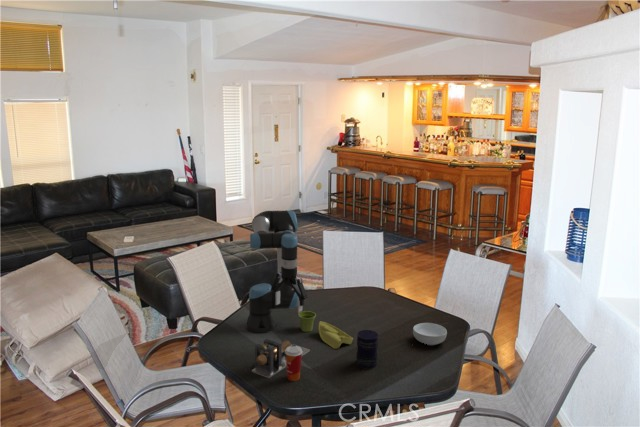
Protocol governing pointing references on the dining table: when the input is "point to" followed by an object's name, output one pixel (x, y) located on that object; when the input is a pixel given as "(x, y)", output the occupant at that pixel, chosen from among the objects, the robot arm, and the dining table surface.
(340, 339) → the plastic component
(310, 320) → the plant pot
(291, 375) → the paper cup
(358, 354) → the storage jar
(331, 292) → the dining table surface
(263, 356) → the copper tube
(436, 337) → the cereal bowl
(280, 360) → the rail
